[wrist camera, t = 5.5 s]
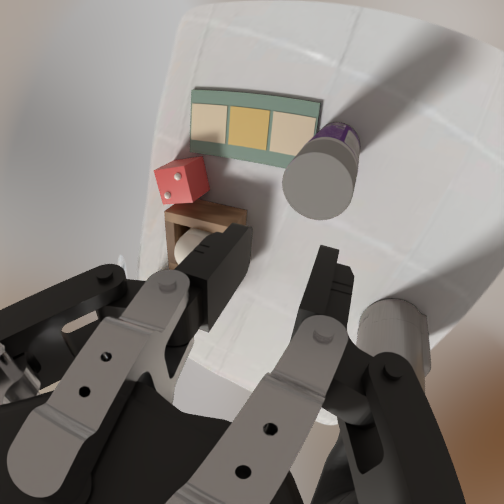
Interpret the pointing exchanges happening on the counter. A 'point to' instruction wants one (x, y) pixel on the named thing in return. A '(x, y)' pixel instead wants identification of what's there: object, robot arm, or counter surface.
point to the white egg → (188, 243)
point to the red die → (182, 180)
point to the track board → (251, 126)
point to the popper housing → (198, 221)
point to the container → (323, 173)
